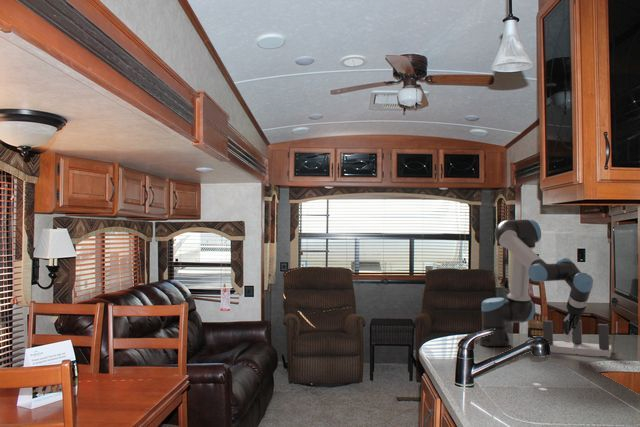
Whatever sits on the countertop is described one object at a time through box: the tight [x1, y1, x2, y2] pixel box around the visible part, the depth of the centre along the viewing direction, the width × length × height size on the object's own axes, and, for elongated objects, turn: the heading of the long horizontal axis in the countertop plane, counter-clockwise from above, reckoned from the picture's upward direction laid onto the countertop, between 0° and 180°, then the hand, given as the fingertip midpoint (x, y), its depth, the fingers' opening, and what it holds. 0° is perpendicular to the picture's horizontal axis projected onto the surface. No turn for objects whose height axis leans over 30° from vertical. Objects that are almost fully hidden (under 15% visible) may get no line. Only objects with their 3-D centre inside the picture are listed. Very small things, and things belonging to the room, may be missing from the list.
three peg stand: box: [543, 319, 613, 358], centre depth 259 cm, size 13×29×14 cm, turn 60°
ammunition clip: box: [527, 315, 549, 338], centre depth 293 cm, size 11×2×12 cm, turn 58°
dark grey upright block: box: [571, 319, 583, 344], centre depth 263 cm, size 2×4×11 cm, turn 60°
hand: (566, 337), depth 253 cm, fingers closed
